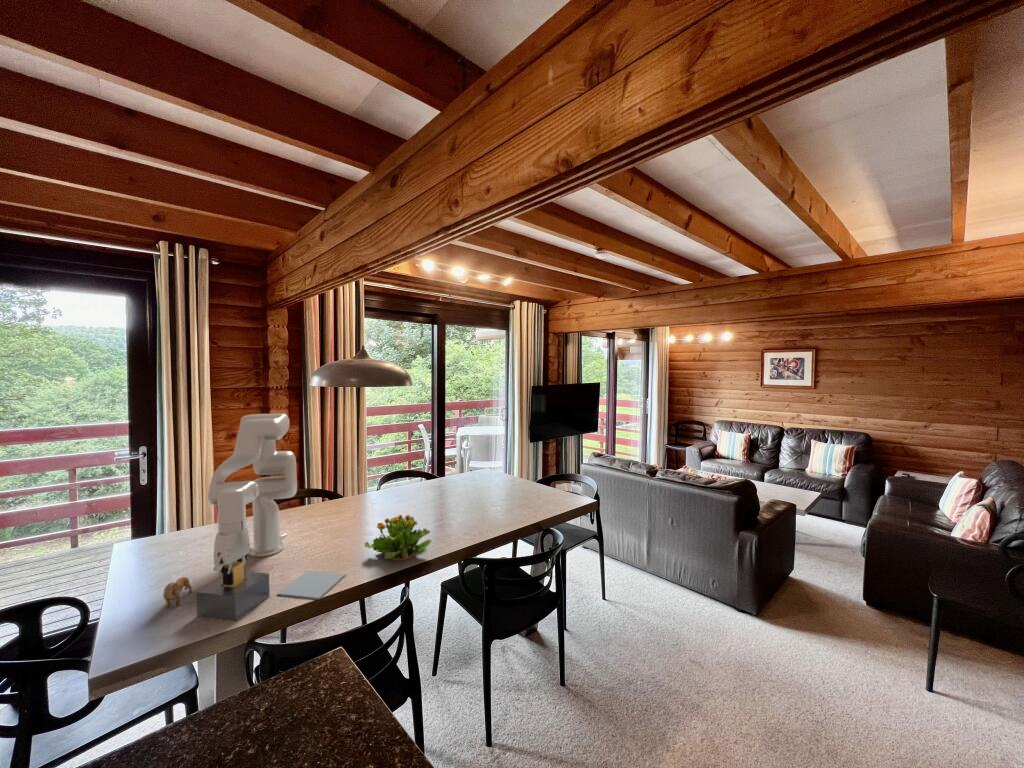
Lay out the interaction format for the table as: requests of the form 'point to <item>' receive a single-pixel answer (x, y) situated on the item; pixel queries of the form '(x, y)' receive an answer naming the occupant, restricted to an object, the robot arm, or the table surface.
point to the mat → (311, 585)
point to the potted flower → (399, 539)
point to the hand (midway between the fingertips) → (234, 580)
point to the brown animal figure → (176, 591)
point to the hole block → (232, 597)
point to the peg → (237, 574)
